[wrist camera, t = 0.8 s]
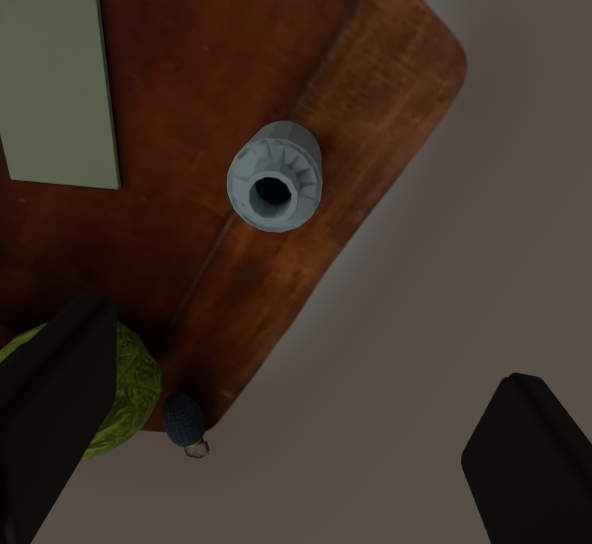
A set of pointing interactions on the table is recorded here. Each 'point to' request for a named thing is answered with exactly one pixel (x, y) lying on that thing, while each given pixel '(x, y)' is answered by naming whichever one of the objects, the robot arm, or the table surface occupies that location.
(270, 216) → the bottle
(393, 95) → the table surface
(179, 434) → the hand grenade
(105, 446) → the lettuce
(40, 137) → the mat
